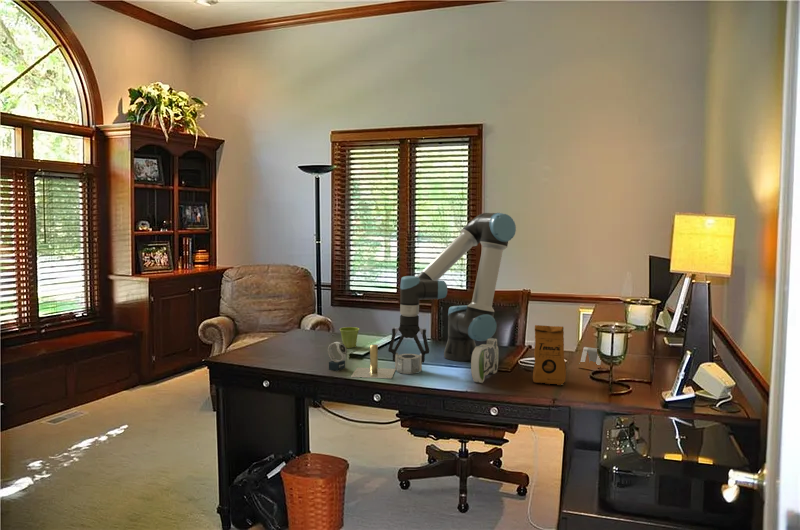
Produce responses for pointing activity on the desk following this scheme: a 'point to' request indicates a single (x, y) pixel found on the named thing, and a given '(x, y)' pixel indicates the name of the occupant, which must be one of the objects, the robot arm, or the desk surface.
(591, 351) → the portable electronic device stand
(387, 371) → the square peg stand
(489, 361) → the cutout
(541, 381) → the coffee package
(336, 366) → the watch
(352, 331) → the plant pot
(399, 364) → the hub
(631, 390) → the desk surface
